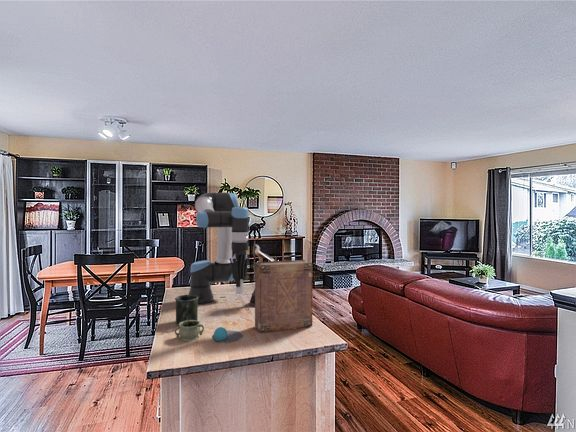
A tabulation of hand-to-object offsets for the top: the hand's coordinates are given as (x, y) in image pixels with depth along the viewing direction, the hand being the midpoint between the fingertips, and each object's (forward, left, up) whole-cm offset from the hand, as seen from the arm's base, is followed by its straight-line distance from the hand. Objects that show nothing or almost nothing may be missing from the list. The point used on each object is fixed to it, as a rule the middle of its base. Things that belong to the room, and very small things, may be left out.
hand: (239, 293), depth 153 cm
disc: (0, -9, -16) cm, 19 cm away
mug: (-27, -4, -17) cm, 32 cm away
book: (+16, +13, -17) cm, 27 cm away
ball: (0, -14, -14) cm, 20 cm away
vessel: (-13, -17, -17) cm, 28 cm away
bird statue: (-12, +43, -17) cm, 48 cm away
